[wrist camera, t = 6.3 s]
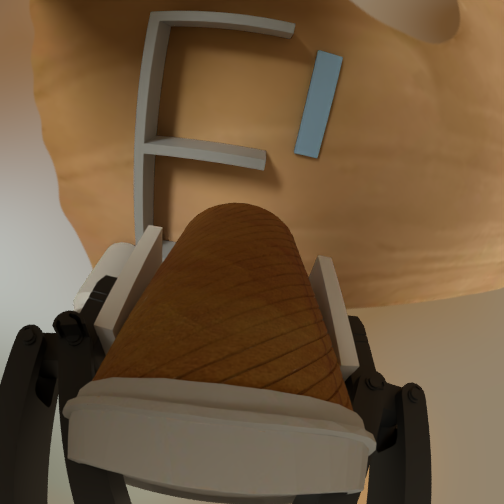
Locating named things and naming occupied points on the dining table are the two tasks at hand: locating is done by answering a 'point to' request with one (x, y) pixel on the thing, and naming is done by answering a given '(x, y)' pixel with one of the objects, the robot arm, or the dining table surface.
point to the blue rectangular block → (318, 103)
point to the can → (104, 270)
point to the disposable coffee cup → (224, 376)
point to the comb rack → (150, 99)
